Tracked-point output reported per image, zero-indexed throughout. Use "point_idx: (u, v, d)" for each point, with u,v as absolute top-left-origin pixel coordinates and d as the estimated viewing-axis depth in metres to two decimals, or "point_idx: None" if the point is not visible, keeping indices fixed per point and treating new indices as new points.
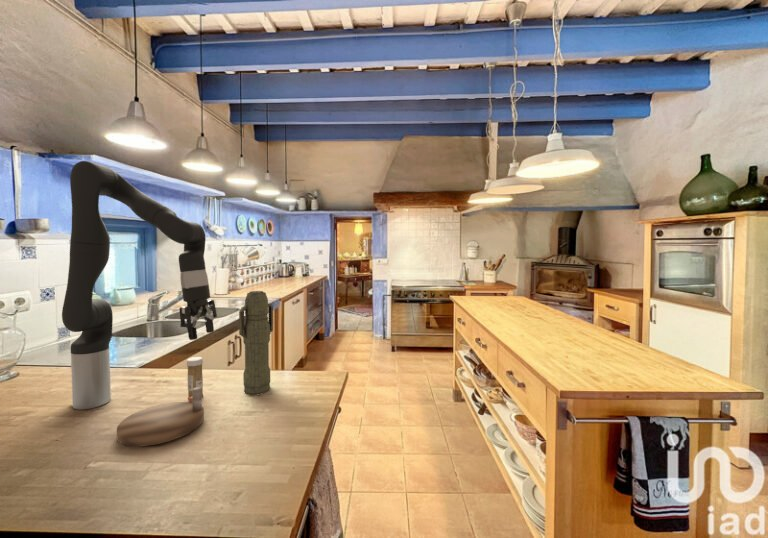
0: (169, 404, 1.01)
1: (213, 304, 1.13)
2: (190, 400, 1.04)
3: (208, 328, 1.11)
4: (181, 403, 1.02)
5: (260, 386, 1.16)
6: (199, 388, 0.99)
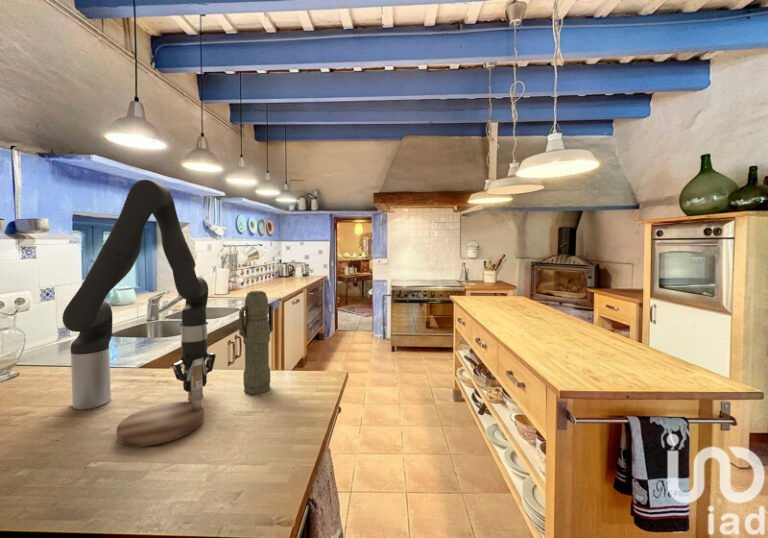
0: (169, 404, 1.01)
1: (213, 358, 1.16)
2: (190, 400, 1.04)
3: None
4: (181, 403, 1.02)
5: (260, 386, 1.16)
6: (199, 388, 0.99)
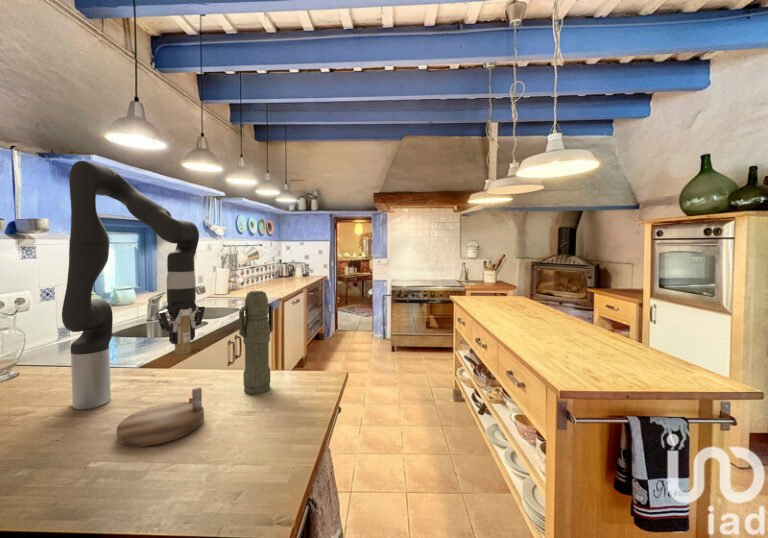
0: (169, 404, 1.01)
1: (202, 311, 1.07)
2: (190, 400, 1.04)
3: None
4: (181, 403, 1.02)
5: (260, 386, 1.16)
6: (199, 388, 0.99)
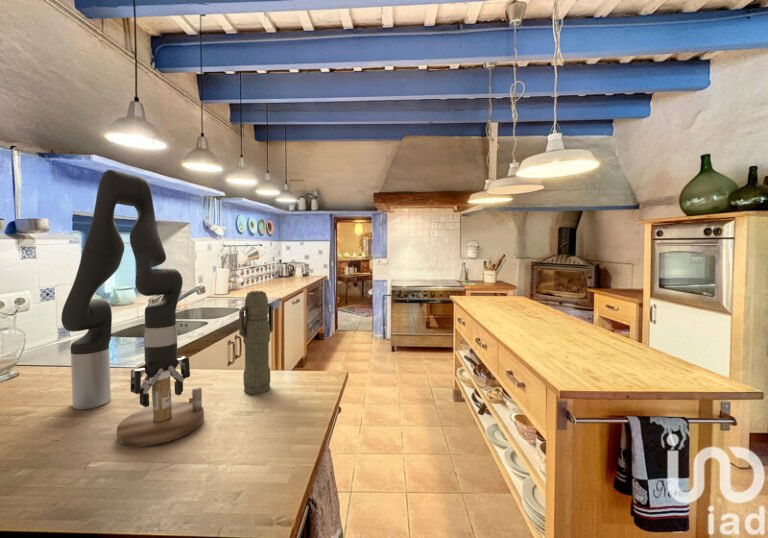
0: None
1: (186, 362, 0.97)
2: (190, 400, 1.04)
3: (176, 390, 0.96)
4: (181, 403, 1.02)
5: (260, 386, 1.16)
6: (199, 388, 0.99)
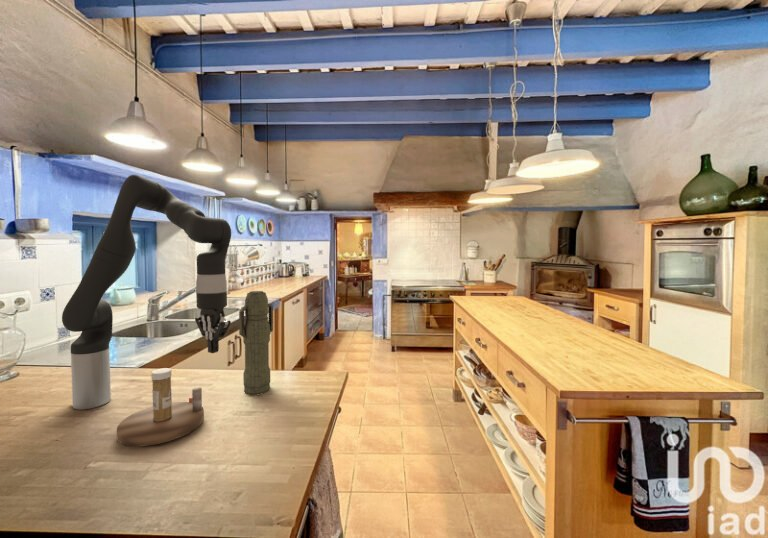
0: None
1: (219, 326, 0.90)
2: (190, 400, 1.04)
3: None
4: (181, 403, 1.02)
5: (260, 386, 1.16)
6: (199, 388, 0.99)
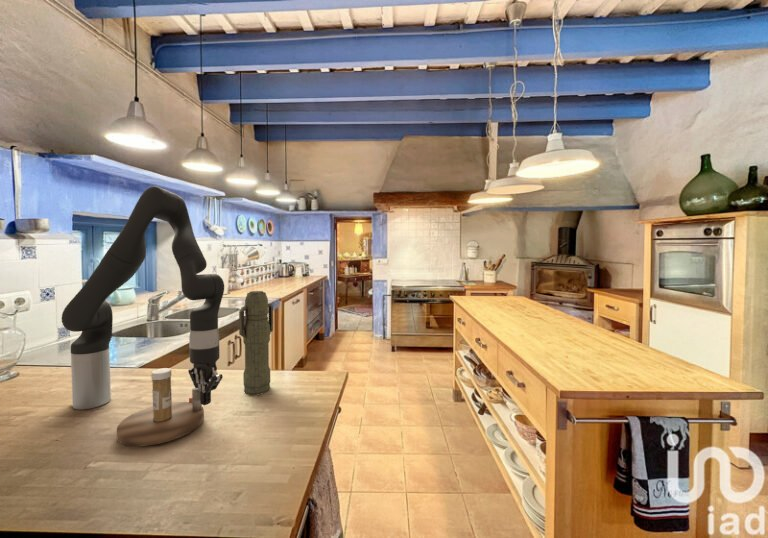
0: None
1: (211, 380, 0.93)
2: (190, 400, 1.04)
3: None
4: (181, 403, 1.02)
5: (260, 386, 1.16)
6: None
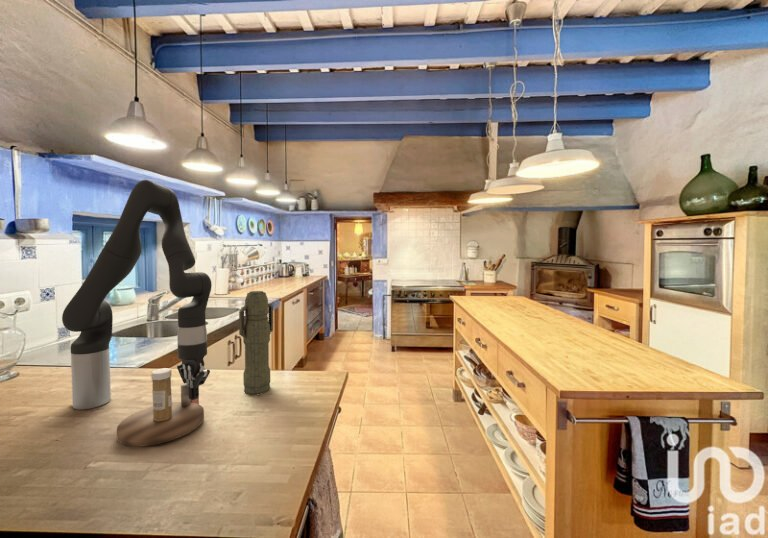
0: (145, 410, 0.97)
1: (199, 375, 0.96)
2: (190, 400, 1.04)
3: None
4: None
5: (260, 386, 1.16)
6: None
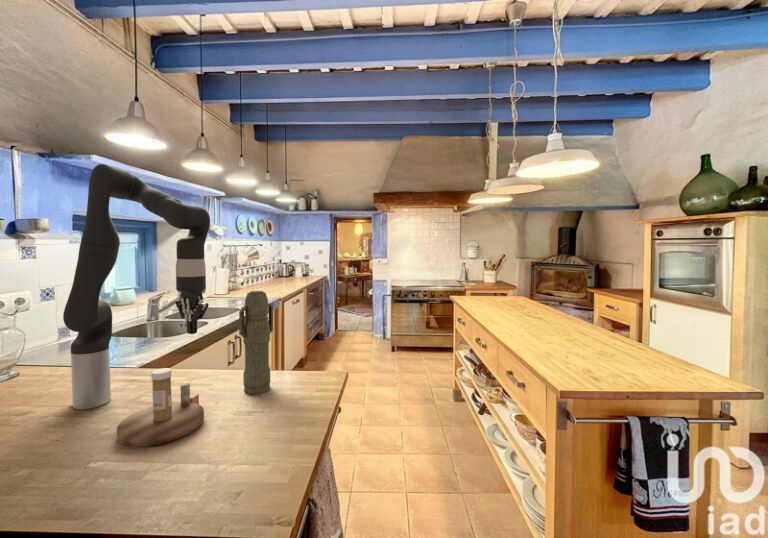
0: (145, 410, 0.97)
1: (197, 308, 0.95)
2: (190, 400, 1.04)
3: None
4: None
5: (260, 386, 1.16)
6: (186, 384, 1.02)
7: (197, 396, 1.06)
